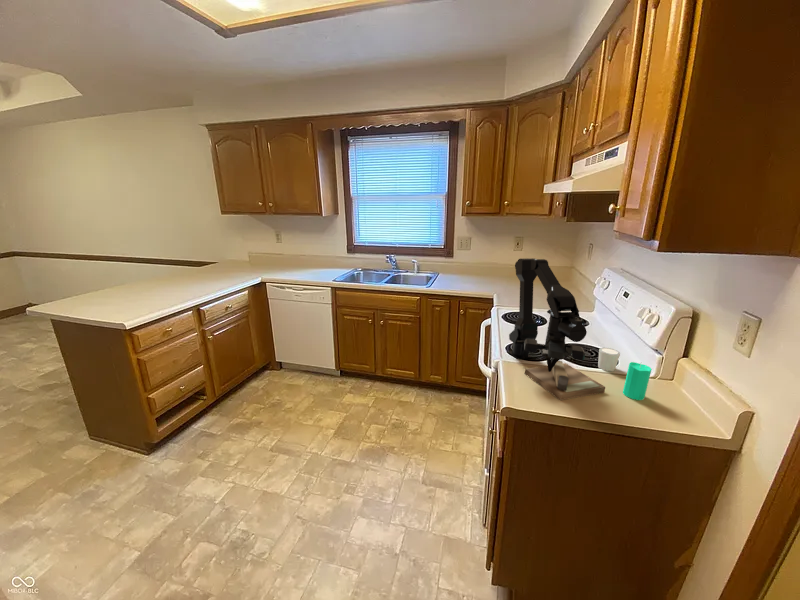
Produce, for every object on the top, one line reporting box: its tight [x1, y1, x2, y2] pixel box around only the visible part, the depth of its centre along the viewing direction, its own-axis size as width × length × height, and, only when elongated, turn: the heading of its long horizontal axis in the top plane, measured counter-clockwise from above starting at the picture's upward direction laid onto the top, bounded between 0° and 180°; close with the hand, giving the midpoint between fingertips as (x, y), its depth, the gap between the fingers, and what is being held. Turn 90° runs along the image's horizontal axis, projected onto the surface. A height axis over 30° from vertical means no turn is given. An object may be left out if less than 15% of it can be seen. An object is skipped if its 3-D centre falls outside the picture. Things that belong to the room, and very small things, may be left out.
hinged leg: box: [552, 360, 569, 390], centre depth 118 cm, size 15×3×4 cm, turn 164°
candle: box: [622, 361, 652, 401], centre depth 113 cm, size 6×6×12 cm
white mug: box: [597, 347, 621, 372], centre depth 132 cm, size 7×7×7 cm
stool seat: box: [524, 362, 606, 401], centre depth 121 cm, size 18×18×2 cm
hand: (549, 371), depth 122 cm, fingers closed
